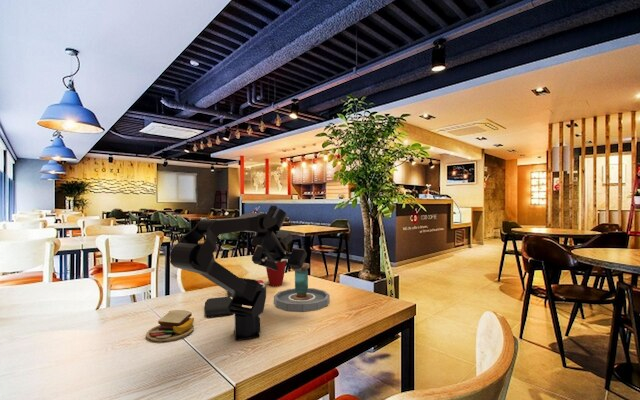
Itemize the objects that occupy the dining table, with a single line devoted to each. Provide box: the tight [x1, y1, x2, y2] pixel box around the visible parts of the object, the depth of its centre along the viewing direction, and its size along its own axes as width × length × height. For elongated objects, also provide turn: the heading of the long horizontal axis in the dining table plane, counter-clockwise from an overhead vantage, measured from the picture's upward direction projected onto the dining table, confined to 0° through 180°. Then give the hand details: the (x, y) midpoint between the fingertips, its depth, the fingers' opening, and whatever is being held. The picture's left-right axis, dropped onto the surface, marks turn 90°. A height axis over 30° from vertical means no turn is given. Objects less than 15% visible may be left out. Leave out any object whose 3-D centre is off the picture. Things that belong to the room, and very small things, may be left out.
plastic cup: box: [265, 259, 288, 287], centre depth 144 cm, size 11×11×12 cm
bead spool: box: [293, 262, 310, 300], centre depth 120 cm, size 6×6×13 cm
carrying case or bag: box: [204, 296, 234, 318], centre depth 112 cm, size 11×3×15 cm
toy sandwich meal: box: [145, 309, 195, 342], centre depth 93 cm, size 12×14×5 cm
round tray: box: [273, 287, 331, 313], centre depth 120 cm, size 20×20×2 cm
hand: (288, 270), depth 111 cm, fingers open, 9 cm apart
